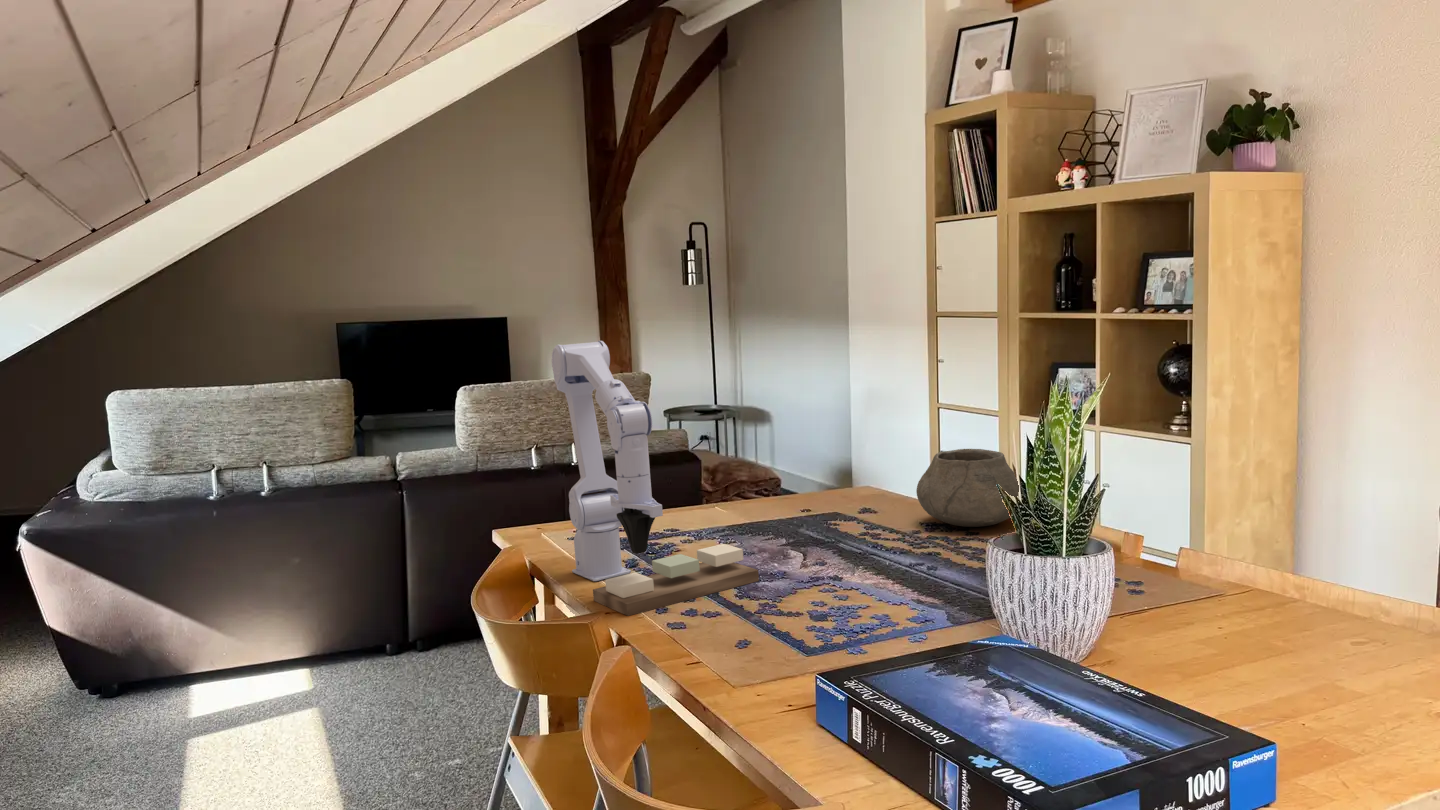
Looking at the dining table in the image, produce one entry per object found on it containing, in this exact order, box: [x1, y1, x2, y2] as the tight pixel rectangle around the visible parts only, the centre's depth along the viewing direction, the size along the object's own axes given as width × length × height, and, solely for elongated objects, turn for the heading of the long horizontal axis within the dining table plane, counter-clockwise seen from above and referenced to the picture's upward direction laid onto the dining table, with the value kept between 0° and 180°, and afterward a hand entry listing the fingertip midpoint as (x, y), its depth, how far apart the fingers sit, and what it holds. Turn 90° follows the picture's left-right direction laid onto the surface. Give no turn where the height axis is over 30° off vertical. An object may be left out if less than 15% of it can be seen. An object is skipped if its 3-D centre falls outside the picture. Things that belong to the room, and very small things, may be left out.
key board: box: [592, 562, 760, 617], centre depth 184 cm, size 12×27×2 cm, turn 125°
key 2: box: [696, 543, 744, 567], centre depth 189 cm, size 6×6×2 cm
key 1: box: [604, 572, 654, 598], centre depth 178 cm, size 6×6×2 cm
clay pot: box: [915, 448, 1019, 528], centre depth 217 cm, size 22×21×15 cm
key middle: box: [651, 553, 700, 578], centre depth 183 cm, size 6×6×2 cm
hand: (639, 552), depth 179 cm, fingers closed
